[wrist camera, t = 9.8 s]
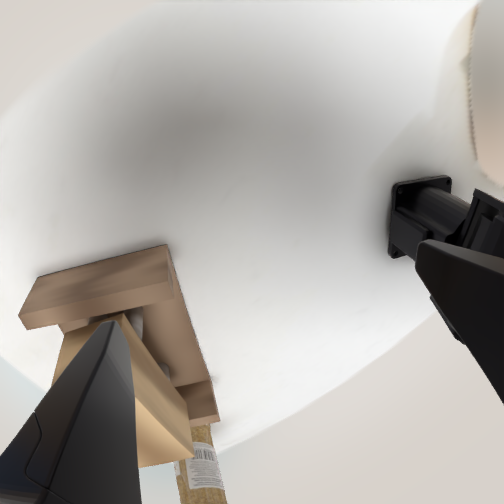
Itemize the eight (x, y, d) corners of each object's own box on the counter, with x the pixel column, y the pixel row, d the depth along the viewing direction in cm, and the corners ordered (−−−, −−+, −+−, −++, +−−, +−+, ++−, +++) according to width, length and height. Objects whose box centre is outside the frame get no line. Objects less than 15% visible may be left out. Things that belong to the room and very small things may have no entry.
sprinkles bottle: (160, 428, 30) (175, 542, 18) (186, 410, 29) (209, 533, 17) (192, 439, 32) (214, 544, 20) (219, 422, 31) (248, 534, 20)
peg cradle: (167, 244, 21) (168, 280, 17) (211, 382, 28) (220, 421, 24) (37, 277, 19) (17, 315, 15) (112, 401, 26) (110, 438, 22)
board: (123, 312, 18) (116, 375, 14) (186, 403, 23) (195, 456, 19) (65, 332, 18) (49, 392, 13) (137, 415, 23) (139, 467, 18)
